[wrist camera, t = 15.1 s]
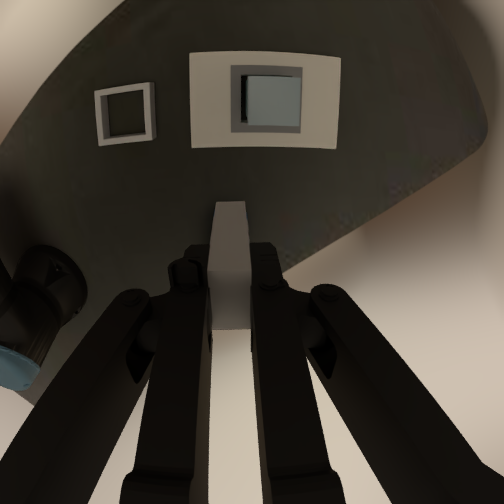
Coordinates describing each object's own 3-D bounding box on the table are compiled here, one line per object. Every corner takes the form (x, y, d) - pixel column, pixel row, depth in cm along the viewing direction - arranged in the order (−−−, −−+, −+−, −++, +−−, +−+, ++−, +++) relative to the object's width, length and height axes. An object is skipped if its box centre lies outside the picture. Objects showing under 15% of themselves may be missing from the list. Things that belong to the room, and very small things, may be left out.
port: (195, 143, 39) (191, 148, 36) (193, 56, 33) (189, 52, 30) (328, 143, 40) (336, 149, 37) (332, 59, 34) (341, 57, 31)
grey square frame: (105, 142, 38) (98, 146, 36) (101, 90, 34) (94, 91, 32) (156, 137, 39) (152, 140, 36) (154, 82, 35) (149, 82, 33)
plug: (244, 115, 38) (248, 125, 28) (244, 79, 36) (248, 75, 25) (281, 115, 38) (299, 126, 28) (281, 80, 36) (300, 77, 25)
